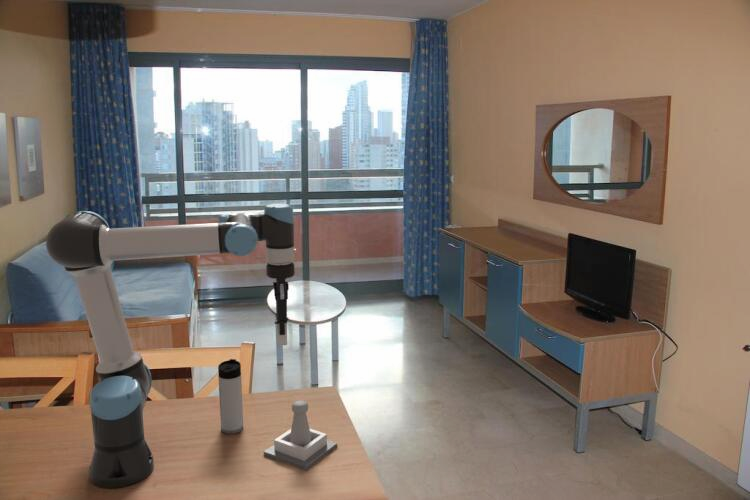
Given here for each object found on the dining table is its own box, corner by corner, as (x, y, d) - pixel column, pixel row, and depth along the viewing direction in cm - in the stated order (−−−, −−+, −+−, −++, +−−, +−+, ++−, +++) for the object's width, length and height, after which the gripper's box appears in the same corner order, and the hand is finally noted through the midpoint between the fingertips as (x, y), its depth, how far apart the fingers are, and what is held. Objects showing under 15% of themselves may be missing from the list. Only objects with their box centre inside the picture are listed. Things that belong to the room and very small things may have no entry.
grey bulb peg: (310, 453, 169) (309, 407, 166) (288, 452, 169) (287, 407, 167) (312, 441, 175) (311, 397, 172) (291, 441, 175) (290, 397, 172)
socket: (263, 454, 170) (263, 441, 169) (296, 432, 182) (296, 419, 181) (305, 470, 163) (305, 456, 162) (337, 446, 175) (337, 432, 174)
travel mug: (246, 423, 187) (243, 359, 182) (239, 434, 180) (236, 368, 176) (225, 422, 187) (222, 358, 183) (217, 433, 181) (214, 367, 176)
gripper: (296, 267, 167) (297, 352, 172) (292, 255, 179) (293, 335, 184) (267, 268, 165) (269, 354, 170) (265, 256, 178) (267, 337, 183)
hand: (282, 344), depth 177 cm, fingers closed
